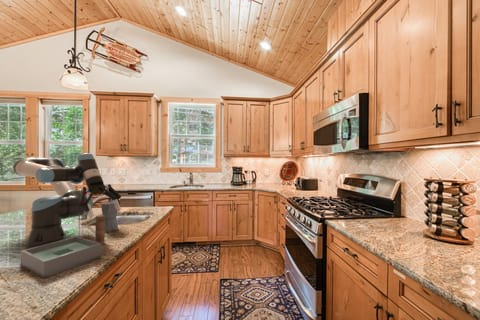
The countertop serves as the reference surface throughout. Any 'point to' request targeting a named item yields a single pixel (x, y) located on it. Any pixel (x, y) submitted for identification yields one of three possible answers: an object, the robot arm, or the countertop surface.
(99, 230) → the walnut peg
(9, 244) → the countertop surface
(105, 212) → the moka pot
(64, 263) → the bore box
